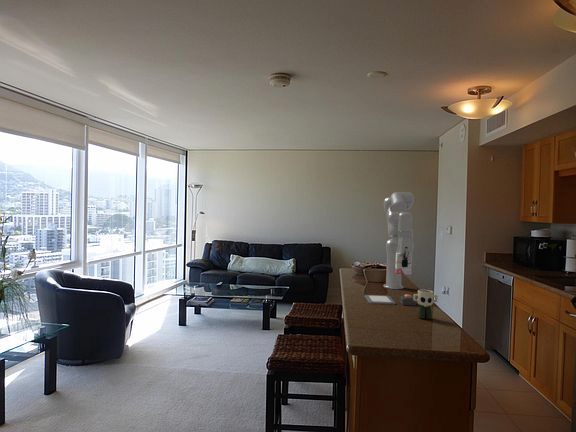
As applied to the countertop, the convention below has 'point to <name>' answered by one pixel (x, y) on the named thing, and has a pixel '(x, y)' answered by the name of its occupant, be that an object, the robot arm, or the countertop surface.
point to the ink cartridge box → (398, 264)
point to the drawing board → (379, 299)
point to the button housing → (407, 301)
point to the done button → (407, 296)
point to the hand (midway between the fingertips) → (403, 265)
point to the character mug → (425, 303)
